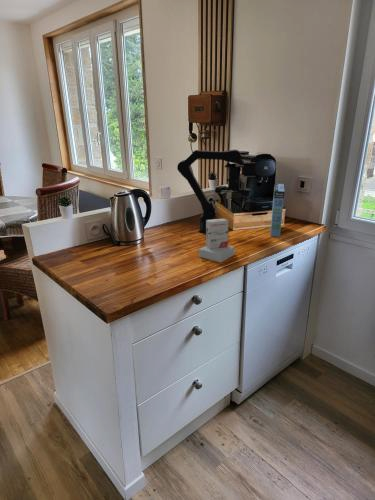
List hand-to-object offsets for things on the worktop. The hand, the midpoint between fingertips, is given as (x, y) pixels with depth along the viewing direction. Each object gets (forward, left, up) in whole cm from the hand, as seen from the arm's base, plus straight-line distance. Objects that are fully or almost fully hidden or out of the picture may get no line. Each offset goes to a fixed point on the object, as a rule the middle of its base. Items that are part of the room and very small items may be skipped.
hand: (233, 207), depth 171 cm
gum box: (+18, +14, -13) cm, 26 cm away
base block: (+9, -32, -14) cm, 36 cm away
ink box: (+8, -30, -10) cm, 33 cm away
